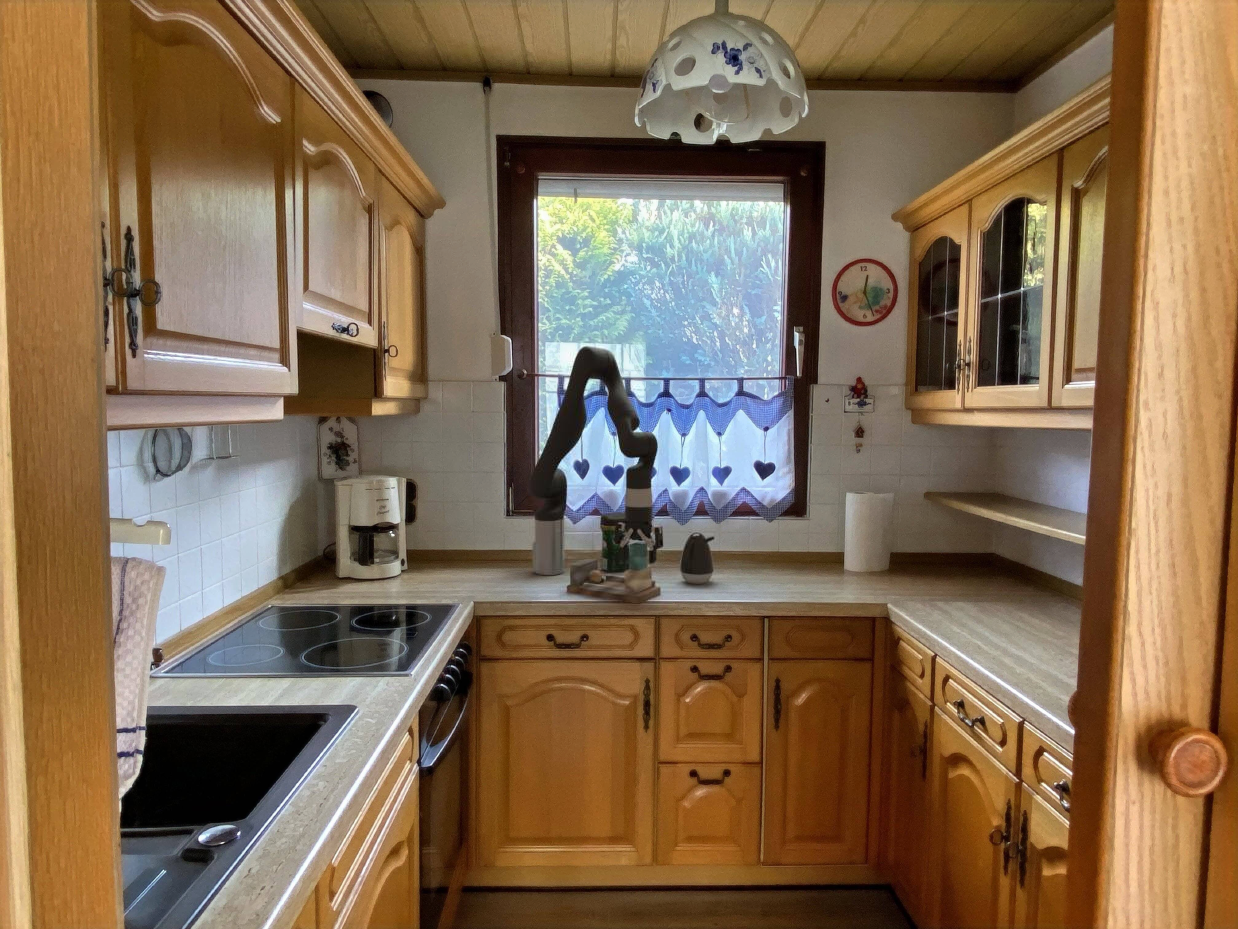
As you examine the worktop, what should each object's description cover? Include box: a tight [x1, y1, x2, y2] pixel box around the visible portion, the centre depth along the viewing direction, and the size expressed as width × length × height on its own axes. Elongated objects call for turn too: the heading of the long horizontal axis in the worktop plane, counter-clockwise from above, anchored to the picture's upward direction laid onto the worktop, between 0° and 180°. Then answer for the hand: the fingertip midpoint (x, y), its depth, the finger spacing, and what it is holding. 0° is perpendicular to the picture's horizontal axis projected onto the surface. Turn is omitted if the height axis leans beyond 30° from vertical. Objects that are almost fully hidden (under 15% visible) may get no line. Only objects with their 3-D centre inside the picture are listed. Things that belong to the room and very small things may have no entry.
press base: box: [566, 557, 662, 605], centre depth 220 cm, size 24×13×8 cm, turn 59°
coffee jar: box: [599, 512, 630, 573], centre depth 250 cm, size 10×8×19 cm
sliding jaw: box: [624, 541, 653, 593], centre depth 216 cm, size 3×10×13 cm, turn 149°
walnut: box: [588, 569, 603, 584], centre depth 223 cm, size 4×4×4 cm
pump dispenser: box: [679, 532, 715, 585], centre depth 233 cm, size 10×10×15 cm
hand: (638, 561), depth 215 cm, fingers open, 8 cm apart
